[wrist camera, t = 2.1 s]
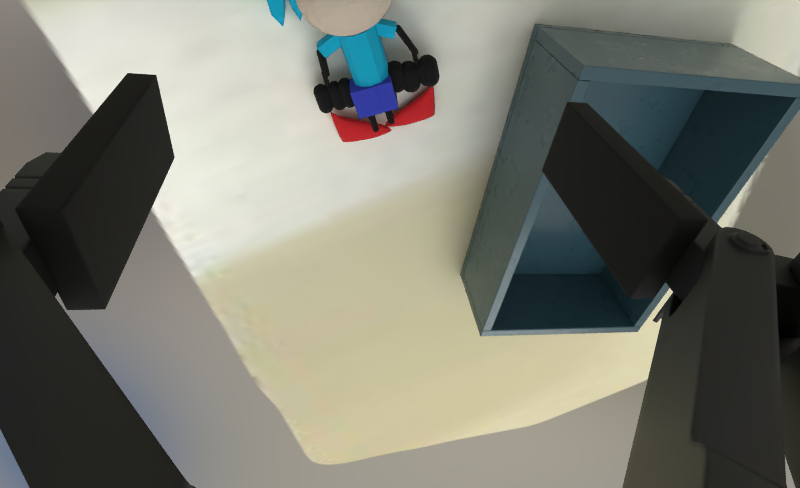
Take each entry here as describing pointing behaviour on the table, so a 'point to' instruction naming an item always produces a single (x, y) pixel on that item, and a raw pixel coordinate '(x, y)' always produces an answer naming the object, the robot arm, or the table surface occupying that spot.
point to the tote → (646, 132)
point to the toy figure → (364, 65)
